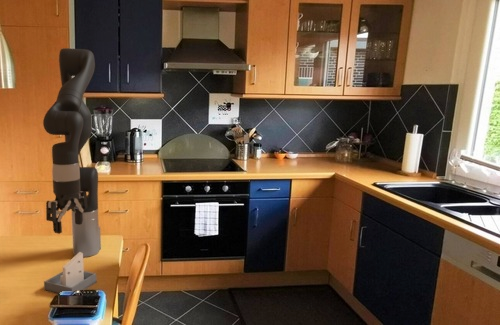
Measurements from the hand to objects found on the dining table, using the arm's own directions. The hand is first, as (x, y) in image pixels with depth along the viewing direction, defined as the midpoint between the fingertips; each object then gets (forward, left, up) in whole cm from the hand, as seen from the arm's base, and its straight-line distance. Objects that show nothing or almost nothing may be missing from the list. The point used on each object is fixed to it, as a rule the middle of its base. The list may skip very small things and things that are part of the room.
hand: (68, 228), depth 123 cm
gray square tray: (0, 0, -19) cm, 19 cm away
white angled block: (0, 0, -19) cm, 19 cm away
